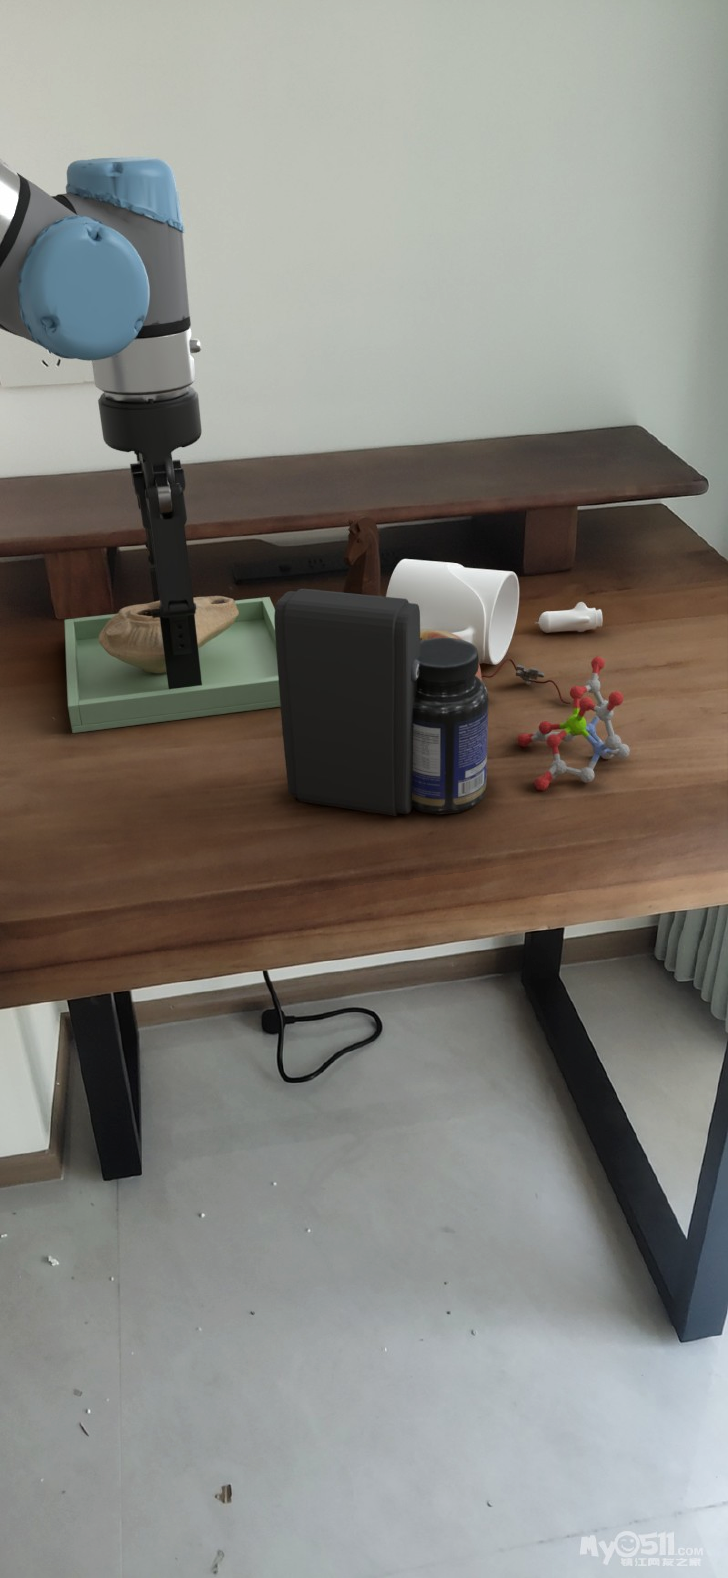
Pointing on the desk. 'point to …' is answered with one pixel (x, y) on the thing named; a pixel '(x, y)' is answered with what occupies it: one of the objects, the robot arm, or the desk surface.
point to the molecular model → (581, 730)
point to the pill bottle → (449, 728)
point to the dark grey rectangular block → (348, 697)
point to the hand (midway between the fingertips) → (179, 660)
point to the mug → (461, 602)
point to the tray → (130, 696)
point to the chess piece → (363, 558)
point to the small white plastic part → (571, 619)
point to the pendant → (528, 675)
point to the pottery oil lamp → (141, 636)
